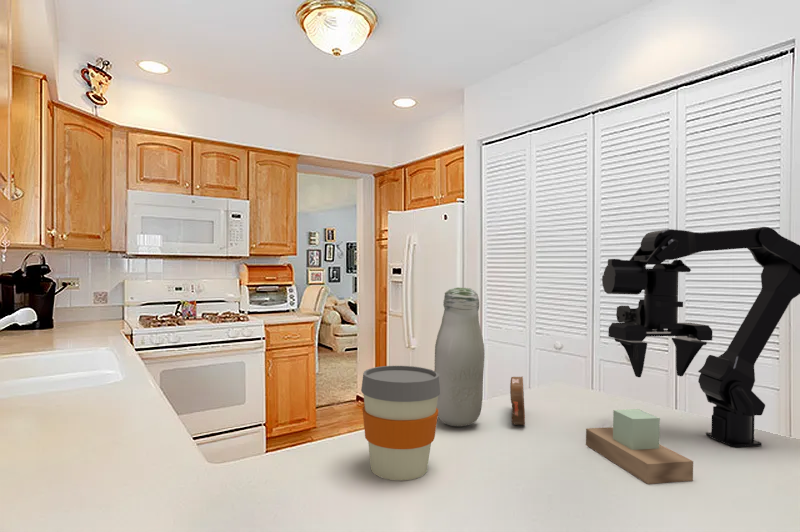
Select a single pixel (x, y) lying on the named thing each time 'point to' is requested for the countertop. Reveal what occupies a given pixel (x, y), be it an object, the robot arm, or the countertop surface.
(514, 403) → the tin
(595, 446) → the walnut base
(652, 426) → the sage block
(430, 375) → the reusable coffee cup
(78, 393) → the countertop surface
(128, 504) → the countertop surface
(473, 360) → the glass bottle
